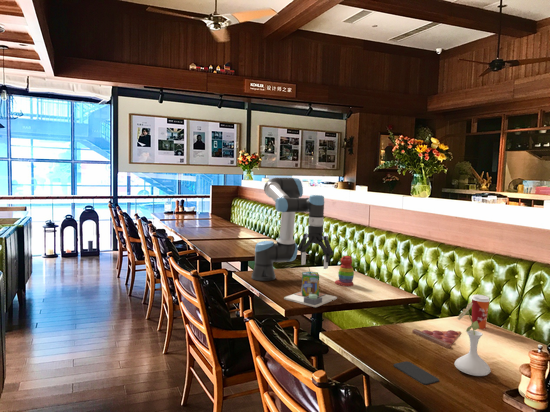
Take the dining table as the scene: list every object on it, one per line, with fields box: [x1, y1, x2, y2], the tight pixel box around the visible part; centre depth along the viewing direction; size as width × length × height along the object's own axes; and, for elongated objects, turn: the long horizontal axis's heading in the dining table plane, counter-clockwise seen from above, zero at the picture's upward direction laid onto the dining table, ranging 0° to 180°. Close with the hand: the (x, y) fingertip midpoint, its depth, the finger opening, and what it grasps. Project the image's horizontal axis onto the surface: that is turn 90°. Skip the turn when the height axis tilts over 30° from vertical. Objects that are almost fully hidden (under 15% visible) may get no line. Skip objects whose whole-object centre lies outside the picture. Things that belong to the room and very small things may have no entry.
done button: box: [309, 294, 317, 300], centre depth 215 cm, size 4×4×2 cm
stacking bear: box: [334, 255, 355, 287], centre depth 257 cm, size 11×10×18 cm
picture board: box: [283, 290, 338, 308], centre depth 224 cm, size 20×21×4 cm
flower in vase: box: [454, 301, 492, 377], centre depth 144 cm, size 13×11×25 cm
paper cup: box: [470, 294, 491, 330], centre depth 189 cm, size 8×8×14 cm
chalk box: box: [301, 268, 320, 296], centre depth 229 cm, size 9×9×15 cm
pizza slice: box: [411, 328, 462, 349], centre depth 177 cm, size 18×2×20 cm
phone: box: [393, 360, 440, 386], centre depth 142 cm, size 7×1×15 cm
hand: (314, 266), depth 215 cm, fingers open, 13 cm apart
